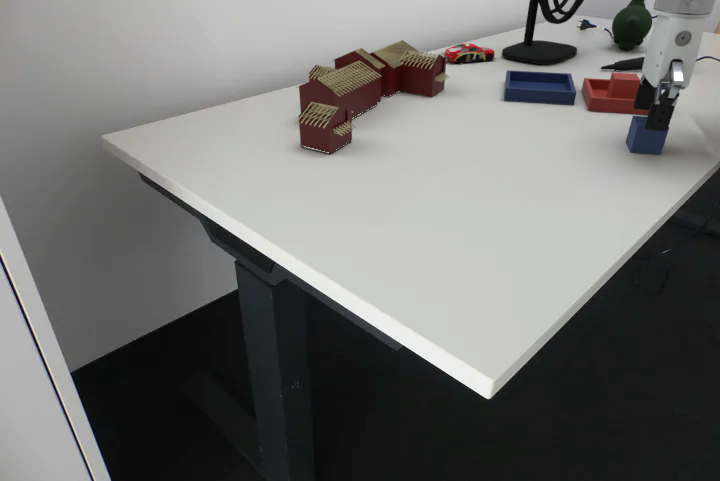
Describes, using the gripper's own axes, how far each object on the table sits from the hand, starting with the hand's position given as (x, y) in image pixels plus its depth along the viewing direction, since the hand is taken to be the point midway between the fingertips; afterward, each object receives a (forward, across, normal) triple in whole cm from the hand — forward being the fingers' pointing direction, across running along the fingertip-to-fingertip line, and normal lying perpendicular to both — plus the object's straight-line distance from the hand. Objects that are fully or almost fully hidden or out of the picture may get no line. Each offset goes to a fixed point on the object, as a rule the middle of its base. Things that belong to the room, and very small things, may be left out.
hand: (648, 118), depth 86 cm
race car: (+5, +51, +32) cm, 60 cm away
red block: (+4, +24, 0) cm, 25 cm away
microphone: (+5, +50, -10) cm, 51 cm away
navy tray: (+5, +27, +16) cm, 32 cm away
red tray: (+5, +24, 0) cm, 25 cm away
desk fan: (+5, +59, +14) cm, 61 cm away
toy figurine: (+4, +75, -10) cm, 76 cm away
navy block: (+5, 0, 0) cm, 5 cm away
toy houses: (+6, +9, +50) cm, 51 cm away
